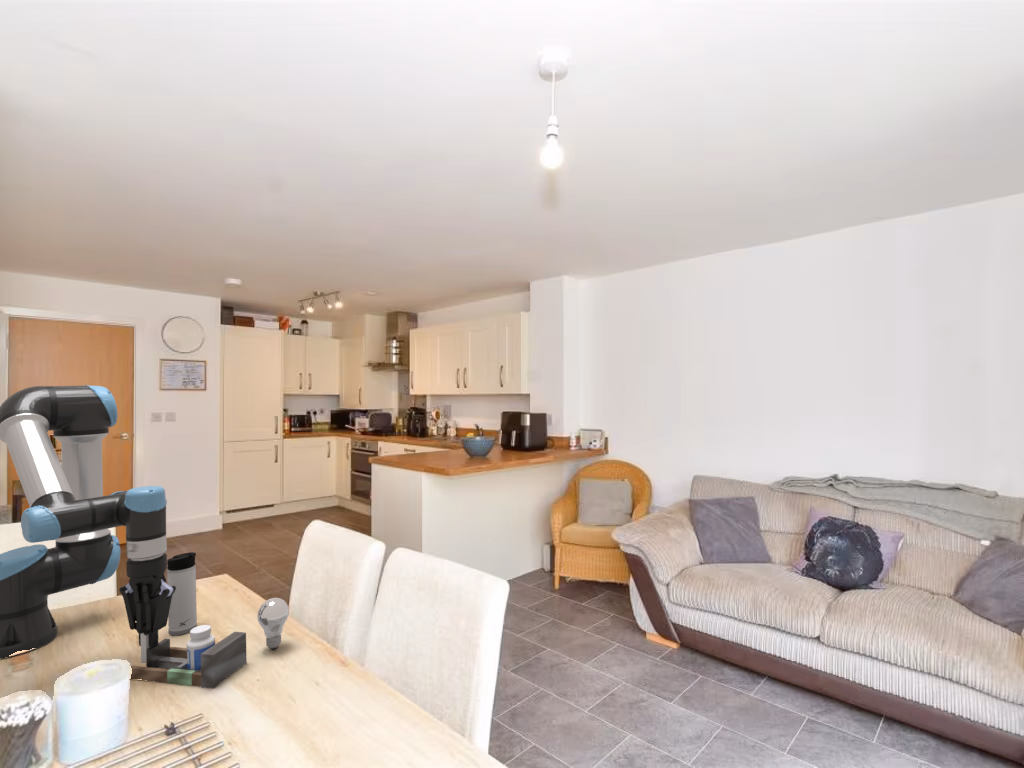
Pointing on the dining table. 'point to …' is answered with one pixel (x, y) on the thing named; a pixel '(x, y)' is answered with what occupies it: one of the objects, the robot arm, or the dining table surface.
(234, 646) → the frame
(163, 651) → the grey u-channel bracket
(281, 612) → the light bulb
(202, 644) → the pill bottle
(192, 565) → the travel mug
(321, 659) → the dining table surface
